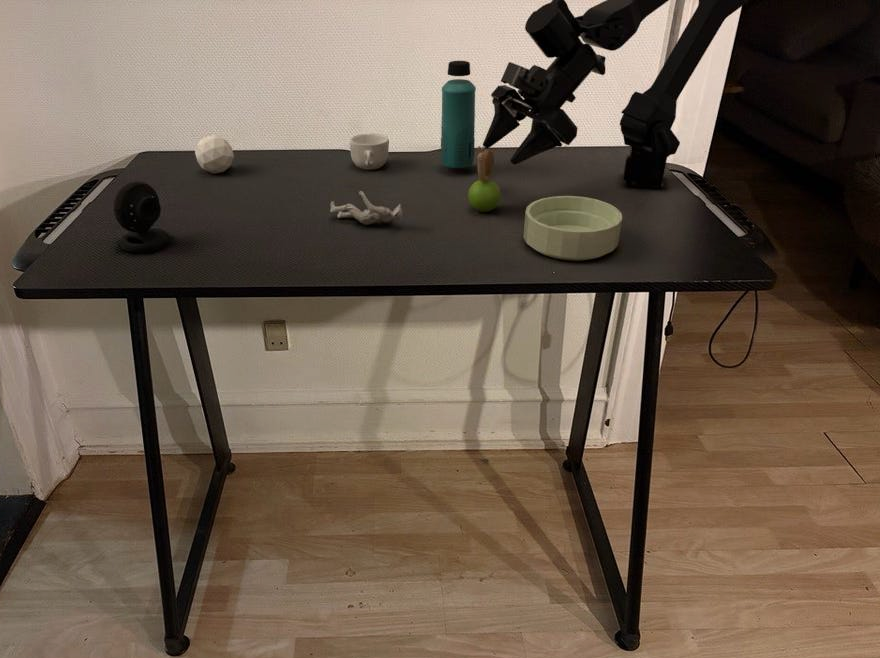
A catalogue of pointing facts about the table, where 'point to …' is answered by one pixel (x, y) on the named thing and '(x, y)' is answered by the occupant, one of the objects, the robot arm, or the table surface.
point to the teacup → (369, 150)
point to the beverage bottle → (458, 118)
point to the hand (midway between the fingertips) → (497, 154)
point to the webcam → (139, 217)
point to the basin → (572, 227)
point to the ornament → (214, 154)
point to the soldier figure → (368, 212)
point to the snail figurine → (484, 184)
